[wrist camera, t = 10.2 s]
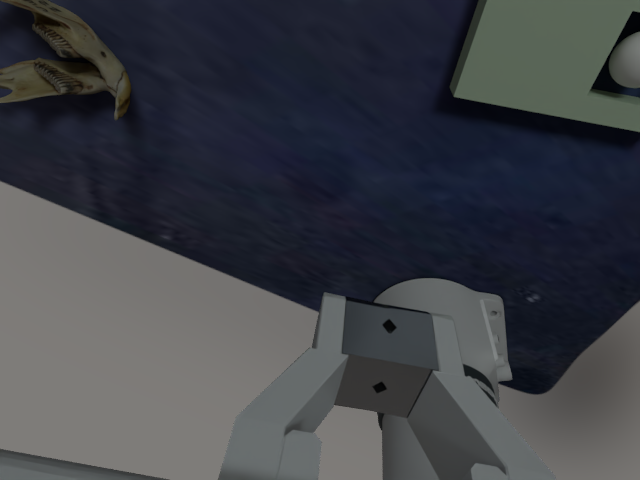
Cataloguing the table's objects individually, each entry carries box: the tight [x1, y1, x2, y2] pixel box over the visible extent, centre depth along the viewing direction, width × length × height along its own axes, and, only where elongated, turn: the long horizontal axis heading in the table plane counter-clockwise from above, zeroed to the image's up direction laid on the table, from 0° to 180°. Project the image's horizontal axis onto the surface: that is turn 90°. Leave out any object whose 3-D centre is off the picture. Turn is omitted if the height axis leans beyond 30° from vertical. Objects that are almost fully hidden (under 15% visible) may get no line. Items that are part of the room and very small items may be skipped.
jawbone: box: [0, 0, 131, 120], centre depth 34 cm, size 9×15×10 cm
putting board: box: [450, 0, 640, 132], centre depth 33 cm, size 18×10×2 cm, turn 81°
